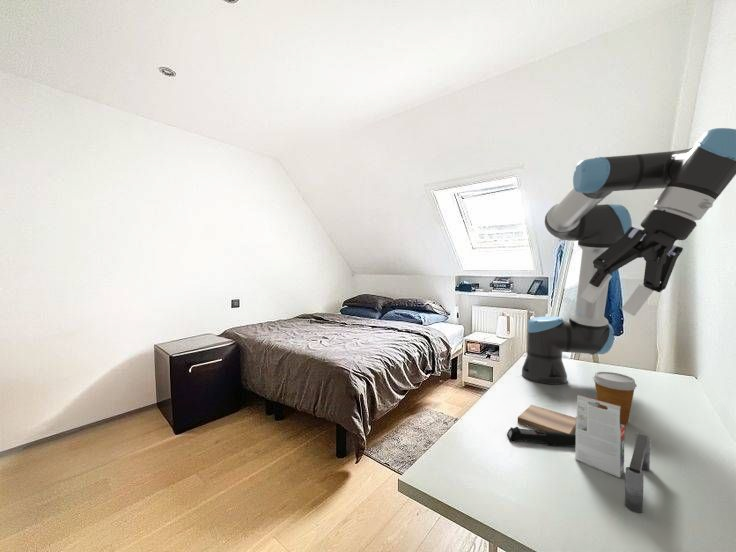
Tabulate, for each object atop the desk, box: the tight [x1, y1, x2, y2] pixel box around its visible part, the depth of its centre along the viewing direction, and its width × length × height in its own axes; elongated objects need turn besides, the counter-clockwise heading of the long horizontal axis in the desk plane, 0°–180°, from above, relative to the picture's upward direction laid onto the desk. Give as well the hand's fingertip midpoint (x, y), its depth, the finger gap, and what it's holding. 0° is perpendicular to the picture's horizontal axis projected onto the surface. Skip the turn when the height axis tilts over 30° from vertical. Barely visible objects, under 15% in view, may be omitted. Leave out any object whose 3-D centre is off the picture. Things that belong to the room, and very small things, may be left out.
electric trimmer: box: [506, 426, 576, 447], centre depth 75 cm, size 4×16×3 cm, turn 77°
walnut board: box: [517, 404, 576, 435], centre depth 84 cm, size 11×12×2 cm
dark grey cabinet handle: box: [624, 433, 651, 514], centre depth 60 cm, size 18×2×7 cm, turn 135°
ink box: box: [574, 394, 626, 479], centre depth 66 cm, size 4×8×15 cm, turn 39°
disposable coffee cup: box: [592, 371, 637, 425], centre depth 86 cm, size 10×10×12 cm
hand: (607, 306), depth 68 cm, fingers open, 13 cm apart
